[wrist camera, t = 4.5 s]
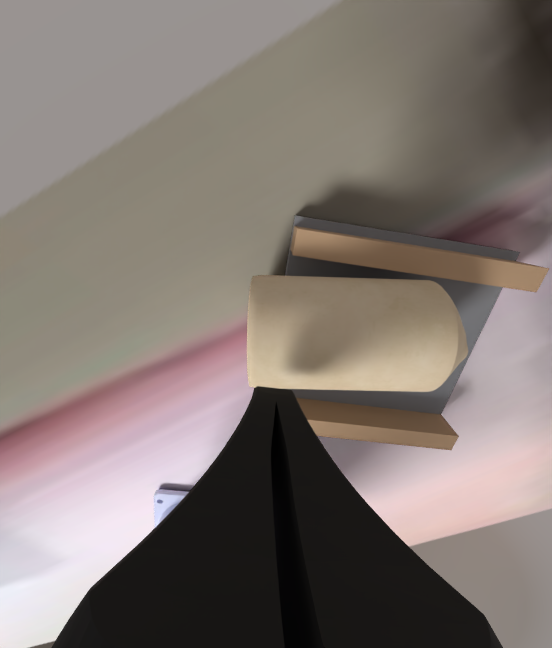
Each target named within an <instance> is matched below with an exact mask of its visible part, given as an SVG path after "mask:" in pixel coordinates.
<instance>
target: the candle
mask: <svg viewBox="0 0 552 648" xmlns="http://www.w3.org/2000/svg"><path fill="white" fill-rule="evenodd" d="M467 355H468V346H467V340H466V333H465V330H464V327H463V324H462V321H461V318H460V315H459V313H458V310H457V308H456V306H455V304H454V302H453V301H452V299H451V298H450V296H449V295H448V294H447V292H446V291H445V290H444V289H443V288H442V287H441V286H440V285H439V284H438V283H436V282H434V281H430V280H408V279H376V278H344V277H311V276H279V275H258V276H253V277H252V281H251V286H250V293H249V305H248V323H247V373H248V381H249V386H250V387H255V388H256V387H257V386H261V387H270V388H279V389H316V390H363V391H411V392H430V391H433V390H435V389H437V388H439V387H440V386H441V385H442V384H443V383H444V382H445V381H446V380H447V378H448V377H449V376H450V375H451V373H452V372H453V371H454V370H455V368H456V367H457V366H458V365H459V364H460V363H461V362H462V361H463V360H464V359H465V358H466V356H467Z"/></svg>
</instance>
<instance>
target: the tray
mask: <svg viewBox="0 0 552 648" xmlns="http://www.w3.org/2000/svg"><path fill="white" fill-rule="evenodd" d="M519 253H520V252H517V251H511V250H505V249H499V248H493V247H487V246H481V245H475V244H468V243H462V242H456V241H450V240H444V239H438V238H431V237H425V236H419V235H413V234H407V233H401V232H394V231H388V230H382V229H376V228H370V227H364V226H357V225H351V224H345V223H339V222H333V221H327V220H320V219H314V218H308V217H302V216H296V215H295V217H294V223H293V229H292V235H291V242H290V248H289V254H288V260H287V266H286V272H285V276H311V277H344V278H376V279H408V280H430V281H434V282H436V283H438V284H439V285H440V286H441V287H442V288H443V289H444V290H445V291H446V292H447V294H448V295H449V296H450V298H451V299H452V301H453V302H454V304H455V306H456V308H457V310H458V313H459V315H460V318H461V321H462V324H463V327H464V330H465V333H466V340H467V346H468V355H467V356H466V358H465V359H464V360H463V361H462V362H461V363H460V364H459V365H458V366H457V367H456V368H455V370H454V371H453V372H452V373H451V375H450V376H449V377H448V378H447V380H446V381H445V382H444V383H443V384H442V385H441V386H440V387H439V388H437V389H435V390H433V391H430V392H411V391H363V390H316V389H287V390H292V391H293V393H294V395H295V397H296V399H297V401H298V403H299V405H300V407H301V409H302V411H303V413H304V415H305V417H306V418H307V420H308V422H309V424H310V425H311V427H312V429H313V430H314V432H315V434H316V435H317V436H323V437H332V438H342V439H351V440H361V441H370V442H379V443H389V444H398V445H408V446H417V447H426V448H436V449H445V450H452V448H453V446H454V444H455V442H456V440H457V439H458V437H459V436H458V435H457V434H456V432H455V431H454V430H453V429H452V428H451V426H450V425H449V424H448V423H447V421H446V420H445V419H444V418H443V416H442V415H441V413H442V411H443V409H444V407H445V405H446V403H447V401H448V399H449V397H450V395H451V393H452V391H453V389H454V387H455V384H456V382H457V380H458V378H459V376H460V374H461V372H462V370H463V368H464V366H465V364H466V362H467V360H468V358H469V356H470V354H471V352H472V349H473V347H474V345H475V343H476V341H477V339H478V337H479V335H480V333H481V331H482V329H483V327H484V325H485V323H486V321H487V319H488V317H489V315H490V312H491V310H492V308H493V306H494V304H495V302H496V300H497V298H498V296H499V294H500V292H501V290H502V288H503V287H505V288H511V289H518V290H525V291H531V292H537V290H538V288H539V287H540V285H541V283H542V281H543V279H544V277H545V275H546V274H547V272H548V270H549V268H544V267H540V266H535V265H530V264H526V263H521V262H517V261H516V259H517V257H518V255H519Z"/></svg>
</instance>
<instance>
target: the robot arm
mask: <svg viewBox="0 0 552 648" xmlns="http://www.w3.org/2000/svg"><path fill="white" fill-rule="evenodd" d="M154 517H155V528H154V529H153V530H152V532H151V533H150V534H149V535H148V536H147V537H145V538H144V539H143V540H142V541H141V542H140V543H139V544H138V545H137V546H136V547H135V548H134V549H133V550H132V551H131V552H129V553H128V554H127V555H126V556H125V557H124V558H123V559H122V560H121V561H120V562H119V563H117V564H116V565H115V566H114V567H113V568H112V569H111V570H110V571H109V572H108V573H107V574H105V575H104V576H103V577H102V578H101V579H100V580H99V581H98V582H97V583H96V584H94V585H93V586H92V587H91V588H90V590H89V591H88V592H87V594H86V595H85V597H84V598H83V599H82V601H81V602H80V604H79V605H78V607H77V608H76V610H75V611H74V613H73V614H72V616H71V617H70V619H69V620H68V622H67V623H66V625H65V627H64V628H63V630H62V631H61V633H60V634H59V636H58V638H57V639H56V641H55V643H54V645H53V646H52V648H503V647H502V645H501V644H500V642H499V640H498V638H497V636H496V635H495V633H494V631H493V629H492V628H491V626H490V624H489V623H488V621H487V619H486V617H485V616H484V614H483V613H481V612H480V611H479V610H478V609H477V608H476V607H475V606H474V605H472V604H471V603H470V602H469V601H468V600H467V599H466V598H464V597H463V596H462V595H461V594H460V593H459V592H458V591H456V590H455V589H454V588H453V587H452V586H451V585H450V584H448V583H447V582H446V581H445V580H444V579H443V578H442V577H440V576H439V575H438V574H437V573H436V572H435V571H434V570H433V569H431V568H430V567H429V566H428V565H427V564H426V563H425V562H424V561H423V560H422V559H421V558H420V557H419V556H418V555H417V554H416V553H415V552H414V551H413V550H412V549H410V548H409V547H408V546H407V545H406V544H405V543H404V542H403V541H402V540H401V539H400V538H399V537H398V536H397V535H396V534H395V533H394V532H393V531H392V530H391V529H390V528H389V526H388V525H387V524H386V523H385V522H384V521H383V520H382V519H381V518H380V517H379V516H378V515H377V514H376V512H375V511H374V510H373V509H372V508H371V507H370V506H369V505H368V504H367V503H366V502H365V500H364V499H363V498H362V497H361V496H360V495H359V493H358V492H357V491H356V490H355V489H354V487H353V486H352V485H351V484H350V482H349V481H348V480H347V479H346V477H345V476H344V475H343V473H342V472H341V471H340V469H339V468H338V467H337V465H336V464H335V463H334V461H333V460H332V458H331V457H330V455H329V454H328V452H327V451H326V449H325V448H324V447H323V445H322V443H321V442H320V440H319V439H318V437H317V435H316V434H315V432H314V430H313V429H312V427H311V425H310V424H309V422H308V420H307V418H306V417H305V415H304V413H303V411H302V409H301V407H300V405H299V403H298V401H297V399H296V397H295V395H294V393H293V391H292V390H287V389H279V388H270V387H261V386H257V387H256V388H254V392H253V396H252V399H251V401H250V404H249V406H248V408H247V410H246V412H245V414H244V416H243V418H242V419H241V421H240V423H239V425H238V427H237V428H236V430H235V432H234V433H233V435H232V436H231V438H230V439H229V441H228V442H227V444H226V445H225V447H224V448H223V450H222V451H221V453H220V454H219V455H218V457H217V458H216V460H215V461H214V462H213V463H212V465H211V466H210V467H209V469H208V470H207V471H206V472H205V474H204V475H203V476H202V477H201V478H200V480H199V481H198V482H197V483H196V484H195V486H194V487H193V488H192V489H191V490H190V492H186V491H175V490H164V489H159V490H157V491H156V492H155V494H154Z"/></svg>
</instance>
